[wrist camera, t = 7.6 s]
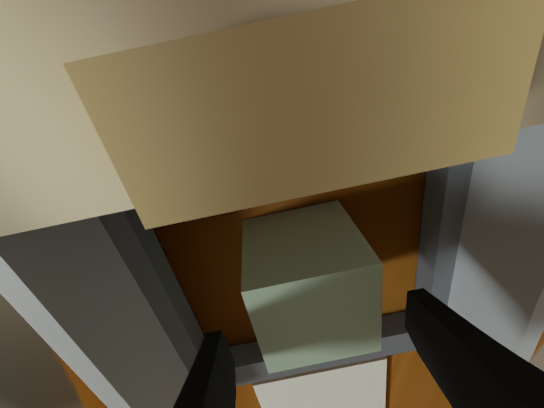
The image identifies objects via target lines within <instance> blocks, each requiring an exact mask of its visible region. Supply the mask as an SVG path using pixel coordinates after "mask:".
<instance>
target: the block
mask: <svg viewBox="0 0 544 408" xmlns="http://www.w3.org/2000/svg"><path fill="white" fill-rule="evenodd" d="M241 294H242V297H243V300H244V303H245V306H246V309H247V312H248V315H249V318H250V321H251V324H252V327H253V330H254V333H255V335H256V338H257V341H258V344H259V347H260V350H261V353H262V356H263V359H264V362H265V365H266V368H267V371H268V374H270V373H275V372H280V371H285V370H290V369H295V368H299V367H304V366H309V365H314V364H319V363H324V362H329V361H334V360H339V359H344V358H349V357H353V356H358V355H363V354H368V353H373V352H378V351H381V335H382V262H381V260H380V259H379V258H378V256H377V255H376V253H375V252H374V251H373V249H372V248H371V246H370V245H369V243H368V242H367V241H366V239H365V238H364V236H363V235H362V233H361V232H360V231H359V229H358V228H357V226H356V225H355V224H354V222H353V221H352V219H351V218H350V216H349V215H348V214H347V212H346V211H345V209H344V208H343V206H342V205H341V204H340V202H339V201H338V200H336V201H331V202H327V203H322V204H317V205H312V206H308V207H303V208H298V209H293V210H288V211H284V212H279V213H274V214H269V215H265V216H260V217H255V218H250V219H245V220H243V225H242V265H241Z"/></svg>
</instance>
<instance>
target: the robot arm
mask: <svg viewBox="0 0 544 408" xmlns="http://www.w3.org/2000/svg"><path fill="white" fill-rule="evenodd" d="M405 328H406V330H407V332H408V334H409V336H410V338H411V341H412V342H413V344H414V346H415V348H416V350H417V352H418V354H419V356H420V357H421V359H422V361H423V362H424V364H425V365H426V367H427V368H428V370H429V372H430V373H431V375H432V376H433V378H434V379H435V381H436V382H437V384H438V386H439V387H440V389H441V390H442V392H443V393H444V395H445V396H446V398H447V399H448V401H449V403H450V404H451V406H452V407H453V408H544V372H543V371H542V370H540V369H539V368H537V367H535V366H534V365H532V364H531V363H529V362H528V361H526V360H524V359H523V358H521V357H520V356H518V355H517V354H515V353H514V352H512V351H511V350H509V349H508V348H506V347H505V346H503V345H502V344H500V343H499V342H497V341H496V340H494V339H493V338H491V337H490V336H489V335H487V334H486V333H484V332H483V331H481V330H480V329H479V328H477V327H476V326H474V325H473V324H472V323H470V322H469V321H467V320H466V319H465V318H463V317H462V316H460V315H459V314H458V313H456V312H455V311H454V310H452V309H451V308H450V307H448V306H447V305H446V304H444V303H443V302H442V301H440V300H439V299H438V298H436V297H435V296H434V295H432V294H431V293H430V292H428V291H427V290H425V289H424V288H421V289H416V290H411V291H407V303H406V315H405ZM235 401H236V373H235V360H234V358H233V356H232V353H231V351H230V349H229V346H228V344H227V342H226V339H225V337H224V335H223V332H222V330H219V331H215V332H210V333H206V334H205V335H204V337H203V340H202V342H201V345H200V347H199V350H198V352H197V355H196V357H195V359H194V362H193V364H192V366H191V369H190V371H189V373H188V376H187V378H186V380H185V382H184V384H183V387H182V389H181V391H180V393H179V395H178V397H177V400H176V402H175V404H174V406H173V408H235Z"/></svg>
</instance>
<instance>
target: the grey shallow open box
mask: <svg viewBox="0 0 544 408" xmlns="http://www.w3.org/2000/svg"><path fill="white" fill-rule="evenodd" d="M421 288H424V289H425V290H427V291H428V292H430V293H431V294H432V295H434V296H435V297H436V298H438V299H439V300H440V301H442V302H443V303H444V304H446V305H447V306H448V307H450V308H451V309H452V310H454V311H455V312H456V313H458V314H459V315H460V316H462V317H463V318H465V319H466V320H467V321H469V322H470V323H472V324H473V325H474V326H476V327H477V328H479V329H480V330H481V331H483V332H484V333H486V334H487V335H489V336H490V337H491V338H493V339H494V340H496V341H497V342H499V343H500V344H502V345H503V346H505V347H506V348H508V349H509V350H511V351H512V352H514V353H515V354H517V355H518V356H520V357H521V358H523V359H524V360H526V361H528V362H529V361H530V359H531V356H532V354H533V352H534V350H535V348H536V346H537V343H538V341H539V339H540V337H541V335H542V333H543V330H544V124H539V125H535V126H530V127H525V128H520V129H519V132H518V136H517V139H516V143H515V147H514V151H513V153H512V154H507V155H503V156H498V157H493V158H488V159H483V160H479V161H474V162H469V163H464V164H459V165H454V166H450V167H445V168H440V169H435V170H430V171H426V180H425V190H424V201H423V211H422V221H421V232H420V242H419V252H418V263H417V273H416V283H415V290H416V289H421ZM0 293H1V294H2V296H3V297H4V298H5V299H6V300H7V301H8V302H9V303H10V304H11V305H12V306H13V307H14V308H15V309H16V310H17V311H18V313H20V315H21V316H22V317H23V318H24V319H25V320H26V321H27V322H28V323H29V324H30V325H31V326H32V327H33V328H34V330H35V331H36V332H37V333H38V334H39V335H40V336H41V337H42V338H43V339H44V340H45V341H46V342H47V343H48V345H49V346H50V347H51V348H52V349H53V350H54V351H55V352H56V353H57V354H58V355H59V356H60V357H61V358H62V359H63V360H64V362H65V363H66V364H67V365H68V366H69V367H70V368H71V369H72V370H73V371H74V372H75V373H76V374H77V375H78V376H79V377H80V379H81V380H82V381H83V382H84V383H85V384H86V385H87V386H88V387H89V388H90V389H91V390H92V391H93V392H94V393H95V395H96V396H97V397H98V398H99V399H100V400H101V401H102V402H103V403H104V404H105V405H106V406H107V407H108V408H173V406H174V404H175V402H176V400H177V397H178V395H179V393H180V391H181V389H182V387H183V384H184V382H185V380H186V378H187V376H188V373H189V371H190V369H191V366H192V364H193V362H194V359H195V357H196V355H197V352H198V350H199V347H200V345H201V342H202V340H203V337H204V335H203V332H202V330H201V328H200V326H199V324H198V322H197V320H196V318H195V316H194V314H193V312H192V310H191V308H190V305H189V303H188V301H187V299H186V297H185V295H184V293H183V291H182V289H181V287H180V285H179V283H178V281H177V278H176V276H175V274H174V272H173V270H172V268H171V266H170V264H169V262H168V260H167V258H166V256H165V254H164V251H163V249H162V247H161V245H160V243H159V241H158V239H157V237H156V235H155V233H154V231H153V229H152V228H151V229H146V230H145V228H144V226H143V224H142V222H141V220H140V218H139V216H138V214H137V212H136V210H135V209H131V210H126V211H122V212H117V213H112V214H107V215H102V216H98V217H93V218H88V219H83V220H78V221H74V222H69V223H64V224H59V225H54V226H50V227H45V228H40V229H35V230H30V231H26V232H21V233H16V234H11V235H6V236H2V237H0ZM405 315H406V311H403V312H398V313H393V314H388V315H384V316H382V335H381V351H378V352H373V353H368V354H363V355H358V356H353V357H349V358H344V359H339V360H334V361H329V362H324V363H319V364H314V365H309V366H304V367H299V368H295V369H290V370H285V371H280V372H275V373H270V374H268V371H267V368H266V365H265V362H264V359H263V356H262V353H261V350H260V347H259V344H258V341H255V342H250V343H245V344H240V345H235V346H230V347H229V349H230V351H231V353H232V356H233V358H234V360H235V373H236V386H240V385H245V384H250V383H255V382H260V381H264V380H269V379H274V378H279V377H284V376H289V375H294V374H299V373H304V372H309V371H314V370H319V369H324V368H329V367H334V366H339V365H344V364H349V363H354V362H359V361H364V360H369V359H374V358H379V357H384V356H389V355H394V354H399V353H404V352H409V351H414V350H416V348H415V346H414V344H413V342H412V341H411V338H410V336H409V334H408V332H407V330H406V328H405Z"/></svg>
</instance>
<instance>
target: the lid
mask: <svg viewBox="0 0 544 408" xmlns="http://www.w3.org/2000/svg"><path fill="white" fill-rule="evenodd" d="M539 124H544V0H0V237H2V236H6V235H11V234H16V233H21V232H26V231H30V230H35V229H40V228H45V227H50V226H54V225H59V224H64V223H69V222H74V221H78V220H83V219H88V218H93V217H98V216H102V215H107V214H112V213H117V212H122V211H126V210H131V209H135V210H136V212H137V214H138V216H139V218H140V220H141V222H142V224H143V226H144V228H145V230H146V229H151V228H155V227H160V226H165V225H170V224H175V223H180V222H184V221H189V220H194V219H199V218H204V217H208V216H213V215H218V214H223V213H228V212H233V211H237V210H242V209H247V208H252V207H257V206H262V205H266V204H271V203H276V202H281V201H286V200H290V199H295V198H300V197H305V196H310V195H315V194H319V193H324V192H329V191H334V190H339V189H344V188H348V187H353V186H358V185H363V184H368V183H372V182H377V181H382V180H387V179H392V178H397V177H401V176H406V175H411V174H416V173H421V172H425V171H430V170H435V169H440V168H445V167H450V166H454V165H459V164H464V163H469V162H474V161H479V160H483V159H488V158H493V157H498V156H503V155H507V154H512V153H513V151H514V147H515V143H516V139H517V136H518V132H519V129H520V128H525V127H530V126H535V125H539Z"/></svg>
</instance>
